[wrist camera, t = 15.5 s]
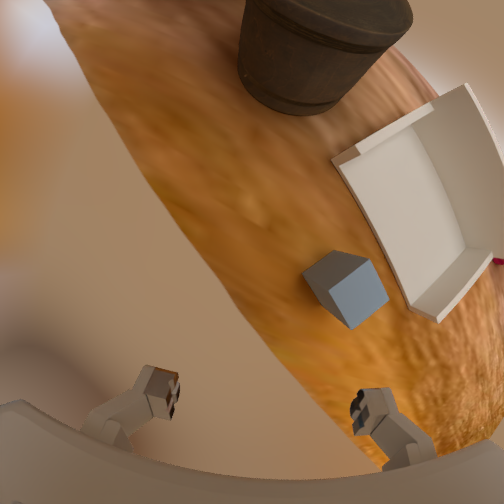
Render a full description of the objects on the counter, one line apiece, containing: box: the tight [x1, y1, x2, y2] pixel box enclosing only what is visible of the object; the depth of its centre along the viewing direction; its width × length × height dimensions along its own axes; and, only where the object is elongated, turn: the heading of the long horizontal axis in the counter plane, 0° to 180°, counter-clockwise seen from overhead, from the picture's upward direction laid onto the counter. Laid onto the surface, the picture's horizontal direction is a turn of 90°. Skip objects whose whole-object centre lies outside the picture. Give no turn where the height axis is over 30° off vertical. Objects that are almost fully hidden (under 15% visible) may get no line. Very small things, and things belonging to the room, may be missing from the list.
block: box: [302, 250, 389, 330], centre depth 28 cm, size 5×5×9 cm
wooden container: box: [238, 0, 413, 116], centre depth 19 cm, size 15×15×22 cm
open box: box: [330, 83, 504, 324], centre depth 26 cm, size 24×16×14 cm, turn 34°
